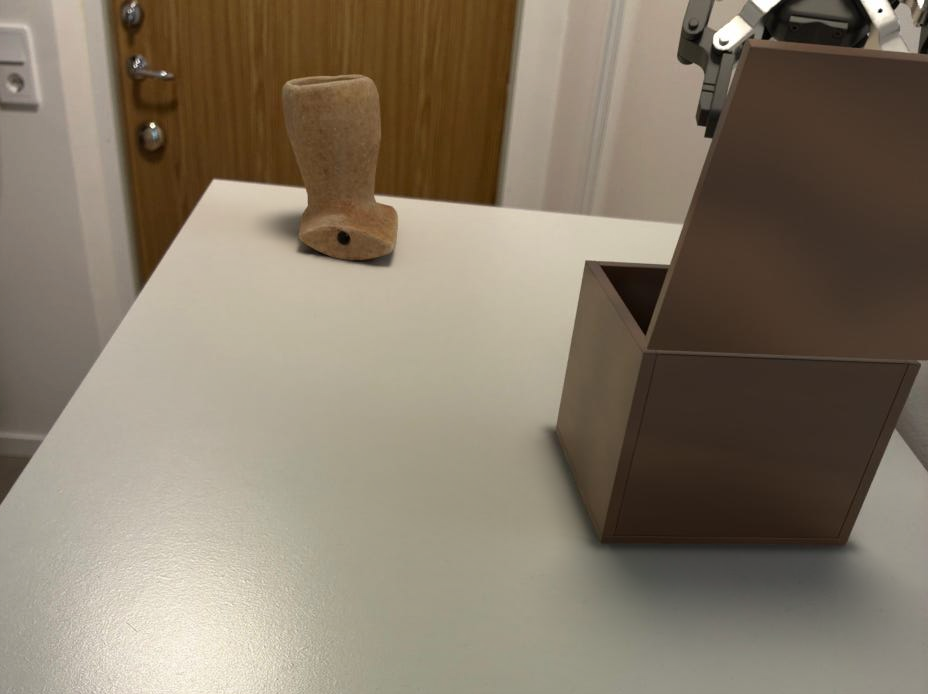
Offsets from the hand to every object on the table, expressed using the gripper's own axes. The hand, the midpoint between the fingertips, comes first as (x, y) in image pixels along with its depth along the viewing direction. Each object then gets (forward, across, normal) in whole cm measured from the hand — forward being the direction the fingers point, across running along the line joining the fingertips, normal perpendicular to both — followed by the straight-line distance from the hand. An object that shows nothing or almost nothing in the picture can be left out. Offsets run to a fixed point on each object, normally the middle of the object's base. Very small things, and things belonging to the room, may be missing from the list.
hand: (791, 142), depth 53 cm
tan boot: (-11, -38, +43) cm, 59 cm away
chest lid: (+6, +3, -4) cm, 8 cm away
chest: (+15, 0, +17) cm, 23 cm away
